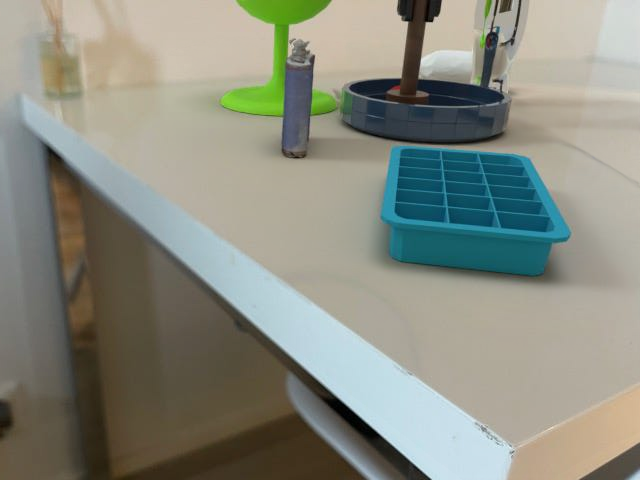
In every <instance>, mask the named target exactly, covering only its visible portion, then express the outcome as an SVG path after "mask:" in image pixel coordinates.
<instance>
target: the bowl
mask: <svg viewBox="0 0 640 480" xmlns="http://www.w3.org/2000/svg"><path fill="white" fill-rule="evenodd" d="M400 85H401V77H375V78H364V79H358V80H352V81H350V82H347V83H344V85H343V86H342V87H341V97H340V98H341V99H340V110H339V116H340V118H341V120H342V121H344V122H345V123H347V124H349V126H351V127H352V128H354V129H356V130H357V131H361V132H363V133H366V134H371V135H375V136H379V137H382V138H383V137H384V138H388V139H394V140H401V141H409V142H411V141H412V142H421V143H440V144H441V143H446V144H449V143H450V144H451V143H468V142H476V141H482V140H486V139H489V138H491V137H494V136H495V135H499V134H501V133H503V132H504V131H505V130H506V129H507V127H508V121H509V117H510V112H511V106H512V102H513V99H512V95H510V94H509V93H508V94H507V93H505V92H503V91H501V90H497V89H494V88H491V87H487V86H482V85H477V84H471V83H465V82H458V81H448V80H439V79H438V80H437V79H424V78H423V77H421V78H420V77H419V79H418V86H417V91H422V92H426V93H428V94H429V100H428V105H414V104H405V103H397V102H389V101H386V95H387V91H389V90H391V89H392V88H394V87H396V86H400Z"/></svg>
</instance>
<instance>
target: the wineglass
mask: <svg viewBox="0 0 640 480" xmlns="http://www.w3.org/2000/svg"><path fill="white" fill-rule="evenodd" d="M332 1H333V0H235V2H236V3H237V5H238V6H240V7H241V8H242V9H243V10H244V11H245V12H246V13H248V14H249V15H250V16H251V17H253V18H255V19H257V20H258V21H259V20H260V21H261V22H263V23H265V24H271V25H274V32H273V61H272V76H271V78H270V79H269V81H268V82H267V83H266V84H265V85H257V86H255V85H254V86H245V87H240V88H235V89H232V90H230V91H227V92H226V93H225V94H224V95H223V96H222V98H221V99H220V104H221V106H222V107H224V108H226V109H228V110H231V111H235V112H239V113H245V114H251V115H260V116H272V117H273V116H277V117H283V105H284V82H285V62H286V59H287V58H288V57H289V40H290V39H289V36H290V25H291V26H292V25H299V24H301V23H303V22H306V21H308V20H311V19H313V18H315V17H316V16H317V15H319V14H320V13H321V12H322V11H324V10H325V9H327V8H328V6H329V5H330V4H331V2H332ZM337 108H338V104H337V100H336V98H335V97H334V96H332V95H331V94H329V93H328V92H324V91H321V90H317V89H313V88H312V103H311V115H310V116H314V115H320V114H326V113H329V112H332V111H334V110H336V109H337Z"/></svg>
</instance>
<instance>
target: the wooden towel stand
mask: <svg viewBox="0 0 640 480" xmlns="http://www.w3.org/2000/svg"><path fill="white" fill-rule="evenodd" d="M428 4H429V0H413V8H412V17H411V21H410V22H407V29H406V37H405V45H404V52H403V60H402V69H401V77H400V78H401V85H400V89H396V90H389V91H387V95H386V101H389V102H397V103H405V104H414V105H428V100H429V94H428V93H426V92H422V91H417V86H418V79H419V78H420V75H419V71H420V64H421V58H422V56H423V49H424V42H425V33H426V25H427V22H426V19H427V11H428Z"/></svg>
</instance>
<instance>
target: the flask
mask: <svg viewBox="0 0 640 480" xmlns="http://www.w3.org/2000/svg"><path fill="white" fill-rule="evenodd" d="M288 44H289V45H293V48H292V49H291V55H288V58H287V59H286V62H285V82H284V105H283V116H282V126H281V127H282V128H281V152H282V154H283V156H286V157H289V158H295V157H299V158H301V159H302V158H303V157H304V156H307V154H308V153H307V151H308V142H309V140H310V134H311V133H310V132H311V131H310V130H311V129H310V127H311V116H312V115H311V103H312V89H313V86H314V70H315V60H316V54H315V53H311V49H306V48H307V47H308V45H309V44H310V40H307V41H304V40H303V39H302V38H298V39H297V38H295V37H293V38H291V39H289V40H288Z"/></svg>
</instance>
